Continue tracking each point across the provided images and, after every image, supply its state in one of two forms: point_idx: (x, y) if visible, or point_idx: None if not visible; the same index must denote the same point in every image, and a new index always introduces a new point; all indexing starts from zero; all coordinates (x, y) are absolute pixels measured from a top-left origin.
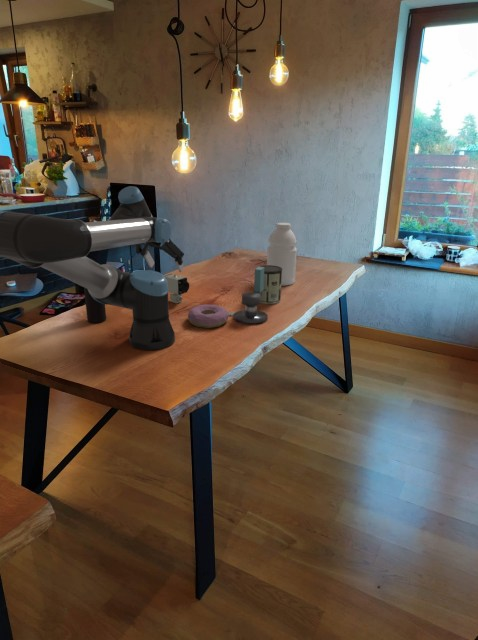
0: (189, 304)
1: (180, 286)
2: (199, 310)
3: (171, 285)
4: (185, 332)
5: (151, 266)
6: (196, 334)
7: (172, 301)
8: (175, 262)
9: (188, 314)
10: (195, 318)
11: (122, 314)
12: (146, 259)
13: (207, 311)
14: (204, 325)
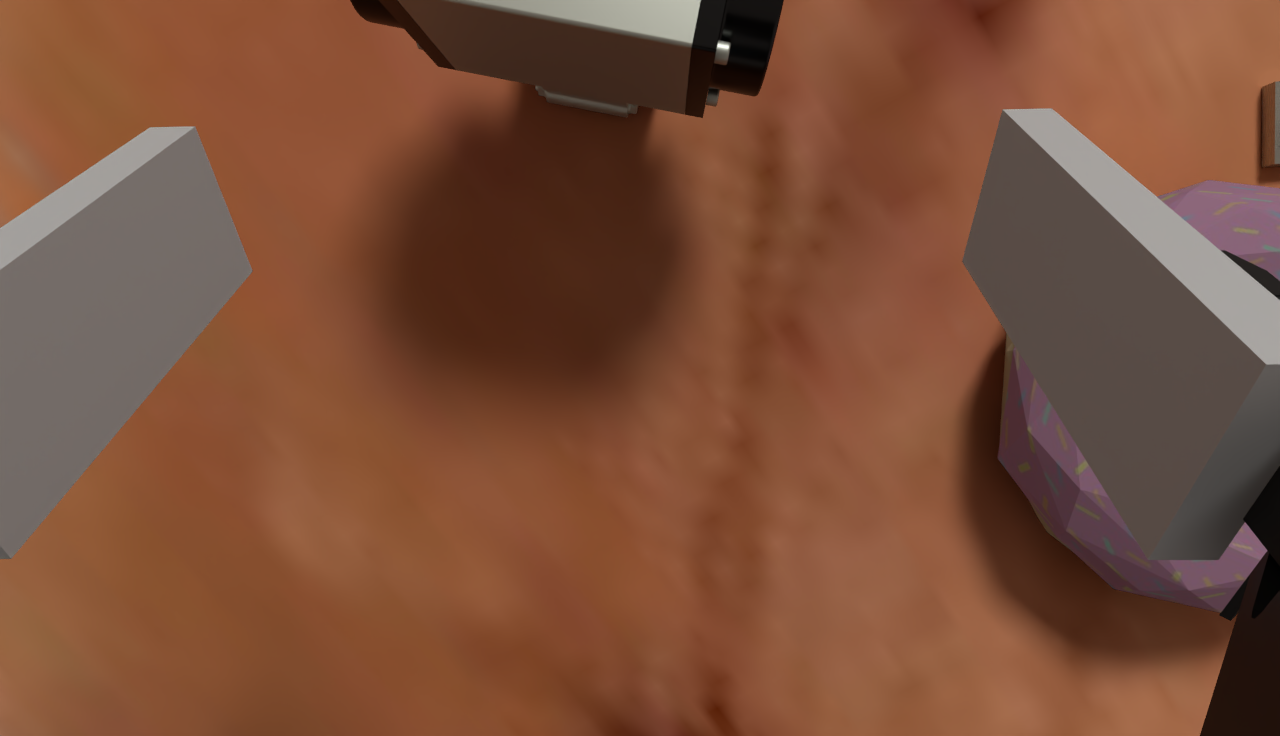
0: None
1: (730, 80)
2: None
3: (558, 60)
4: (1111, 711)
5: (233, 275)
6: None
7: (577, 107)
8: (1121, 480)
9: (1071, 536)
10: (1200, 607)
11: (354, 620)
12: (80, 454)
13: None
14: None
